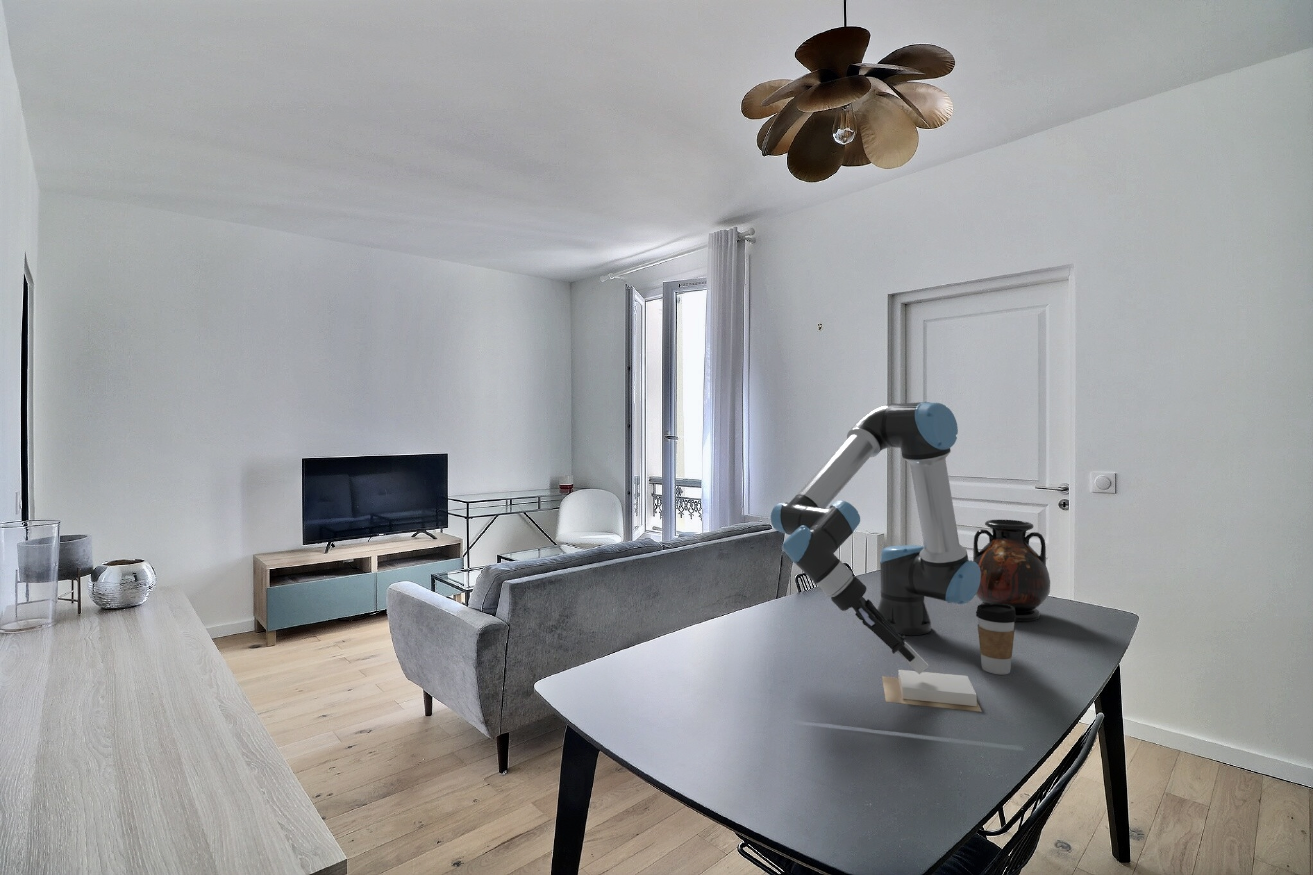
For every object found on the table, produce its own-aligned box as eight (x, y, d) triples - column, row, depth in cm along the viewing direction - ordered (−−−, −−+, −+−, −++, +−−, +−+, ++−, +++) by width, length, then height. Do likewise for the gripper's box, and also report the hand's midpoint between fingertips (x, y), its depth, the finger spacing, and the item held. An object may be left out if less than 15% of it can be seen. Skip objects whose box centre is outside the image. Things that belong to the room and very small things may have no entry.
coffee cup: (1021, 677, 146) (1022, 612, 146) (981, 675, 148) (981, 610, 148) (1009, 664, 154) (1009, 602, 154) (971, 662, 156) (971, 600, 156)
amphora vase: (1045, 609, 200) (1045, 519, 199) (1055, 629, 180) (1055, 529, 180) (968, 601, 209) (968, 515, 208) (969, 620, 189) (969, 525, 189)
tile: (902, 687, 134) (976, 694, 130) (898, 669, 143) (967, 675, 140) (902, 699, 134) (976, 707, 130) (898, 680, 144) (967, 687, 140)
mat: (885, 704, 133) (885, 701, 133) (881, 678, 146) (881, 676, 146) (981, 714, 128) (981, 711, 128) (968, 686, 141) (968, 684, 141)
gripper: (829, 590, 149) (907, 669, 144) (828, 605, 136) (913, 692, 132) (853, 568, 147) (932, 647, 143) (855, 582, 135) (941, 669, 130)
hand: (923, 669), depth 137 cm, fingers closed
